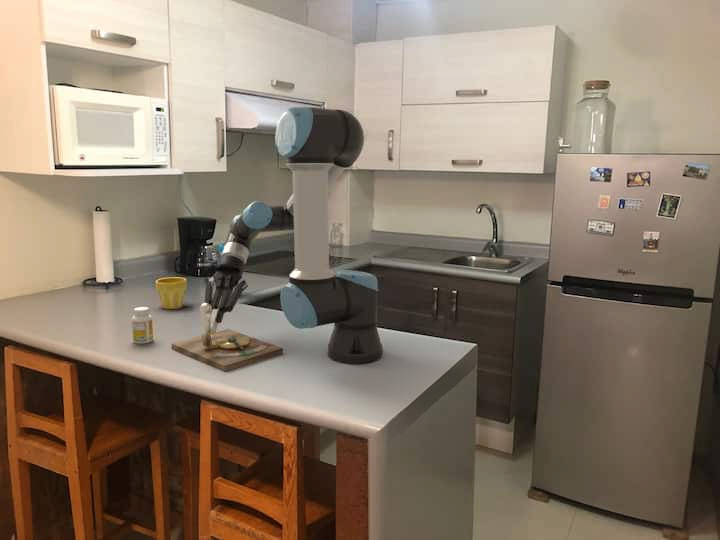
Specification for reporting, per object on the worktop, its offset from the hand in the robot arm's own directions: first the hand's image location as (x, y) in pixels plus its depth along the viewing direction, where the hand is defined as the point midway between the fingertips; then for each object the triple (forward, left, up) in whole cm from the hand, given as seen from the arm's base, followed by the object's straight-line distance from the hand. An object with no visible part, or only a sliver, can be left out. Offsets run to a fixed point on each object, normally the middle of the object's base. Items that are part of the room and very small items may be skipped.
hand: (210, 332), depth 160 cm
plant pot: (+49, -18, -6) cm, 53 cm away
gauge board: (-3, -3, -5) cm, 7 cm away
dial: (-4, -2, -4) cm, 6 cm away
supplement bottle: (+21, +8, -6) cm, 24 cm away
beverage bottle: (+47, -41, -6) cm, 63 cm away
